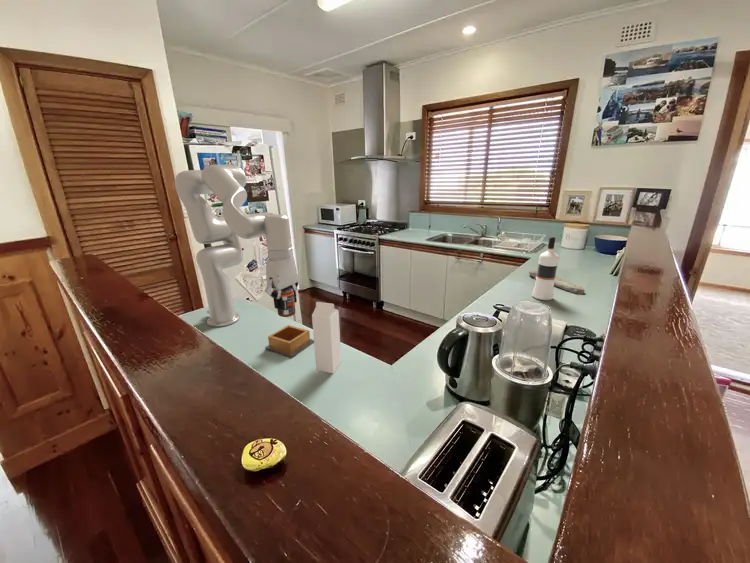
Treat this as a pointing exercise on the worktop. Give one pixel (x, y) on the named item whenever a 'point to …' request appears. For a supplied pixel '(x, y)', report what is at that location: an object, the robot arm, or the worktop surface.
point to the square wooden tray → (289, 341)
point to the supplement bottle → (287, 302)
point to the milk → (326, 337)
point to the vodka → (546, 273)
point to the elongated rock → (563, 284)
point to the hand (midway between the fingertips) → (285, 304)
